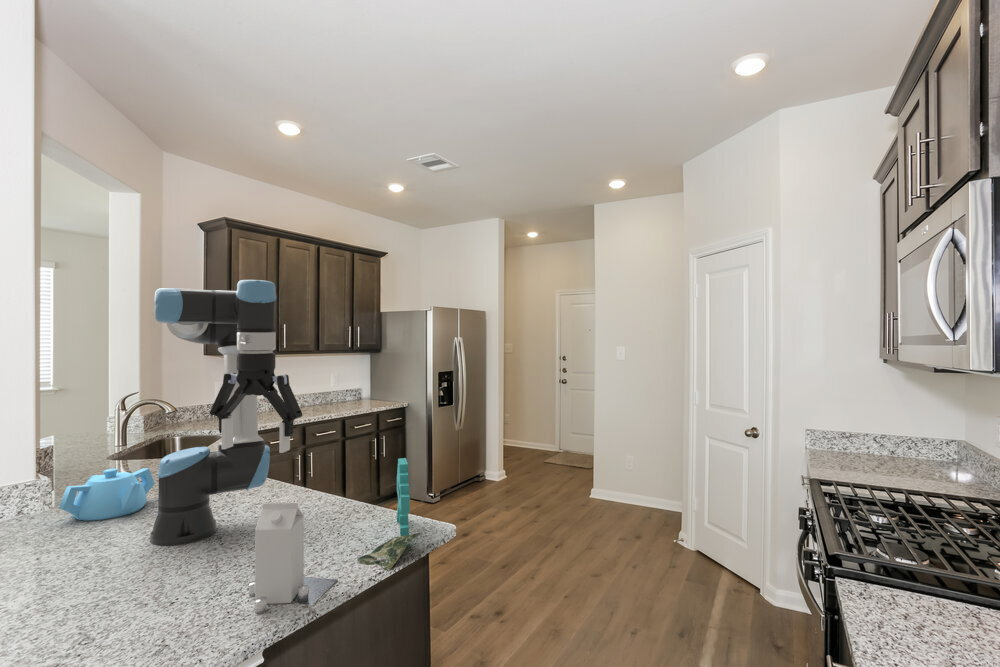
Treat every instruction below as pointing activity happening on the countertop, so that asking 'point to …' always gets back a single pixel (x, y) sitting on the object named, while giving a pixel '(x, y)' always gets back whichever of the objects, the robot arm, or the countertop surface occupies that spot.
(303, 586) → the plate
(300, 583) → the milk carton
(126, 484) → the teapot
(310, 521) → the countertop surface
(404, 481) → the alien figure
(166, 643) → the countertop surface
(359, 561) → the topographical model
